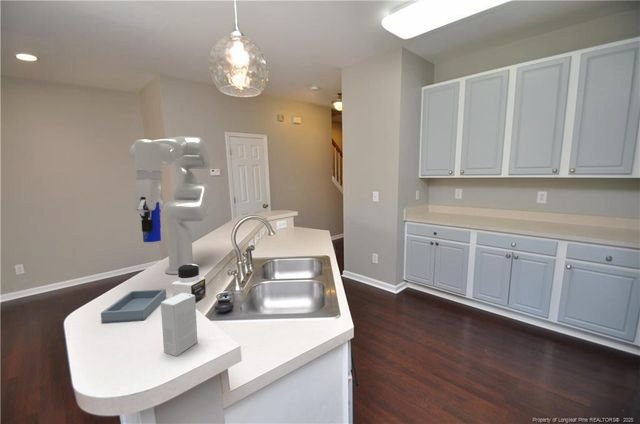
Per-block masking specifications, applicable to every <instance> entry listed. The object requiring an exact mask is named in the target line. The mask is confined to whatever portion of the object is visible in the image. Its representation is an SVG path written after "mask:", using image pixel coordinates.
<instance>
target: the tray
mask: <svg viewBox="0 0 640 424" xmlns="http://www.w3.org/2000/svg"><path fill="white" fill-rule="evenodd" d="M165 300H167V289H163V288H162V289H146V290H145V289H144V290H131V291H129V292H128V293H127V294H125V295H123V296H122V297H120V299H118V300H116V301H115V302H114V303H113V304H110V306H109V307H107V308H105V309H104V310H103V311H102V312H100V318H101V320H100V321H101V324H110V323H111V324H112V323H125V322H139V321H142V322H143V321H145V320H146V319H148V317H149V316H150V315H151V314H152V313H153V312H154V311H155V310H156V309H157V308H158V307H159V306H161V302H162V301H165Z"/></svg>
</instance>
